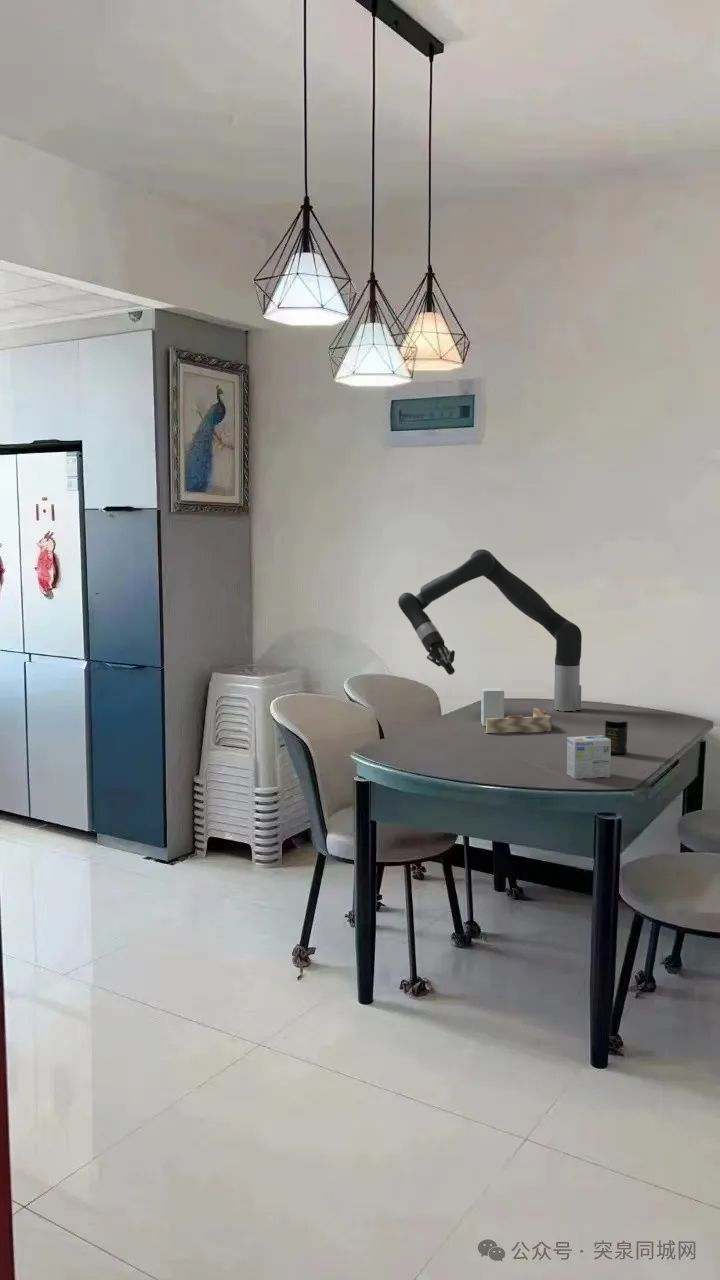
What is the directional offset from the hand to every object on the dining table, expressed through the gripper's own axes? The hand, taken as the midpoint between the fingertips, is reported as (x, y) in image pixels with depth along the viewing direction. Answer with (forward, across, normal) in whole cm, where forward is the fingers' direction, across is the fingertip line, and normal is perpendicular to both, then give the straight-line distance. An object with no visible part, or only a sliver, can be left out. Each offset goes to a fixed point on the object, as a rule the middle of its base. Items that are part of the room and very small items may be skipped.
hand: (452, 673), depth 357 cm
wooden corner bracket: (+31, +2, -9) cm, 33 cm away
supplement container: (+64, -3, -42) cm, 77 cm away
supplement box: (+26, 0, -3) cm, 26 cm away
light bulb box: (+73, -30, -50) cm, 94 cm away
